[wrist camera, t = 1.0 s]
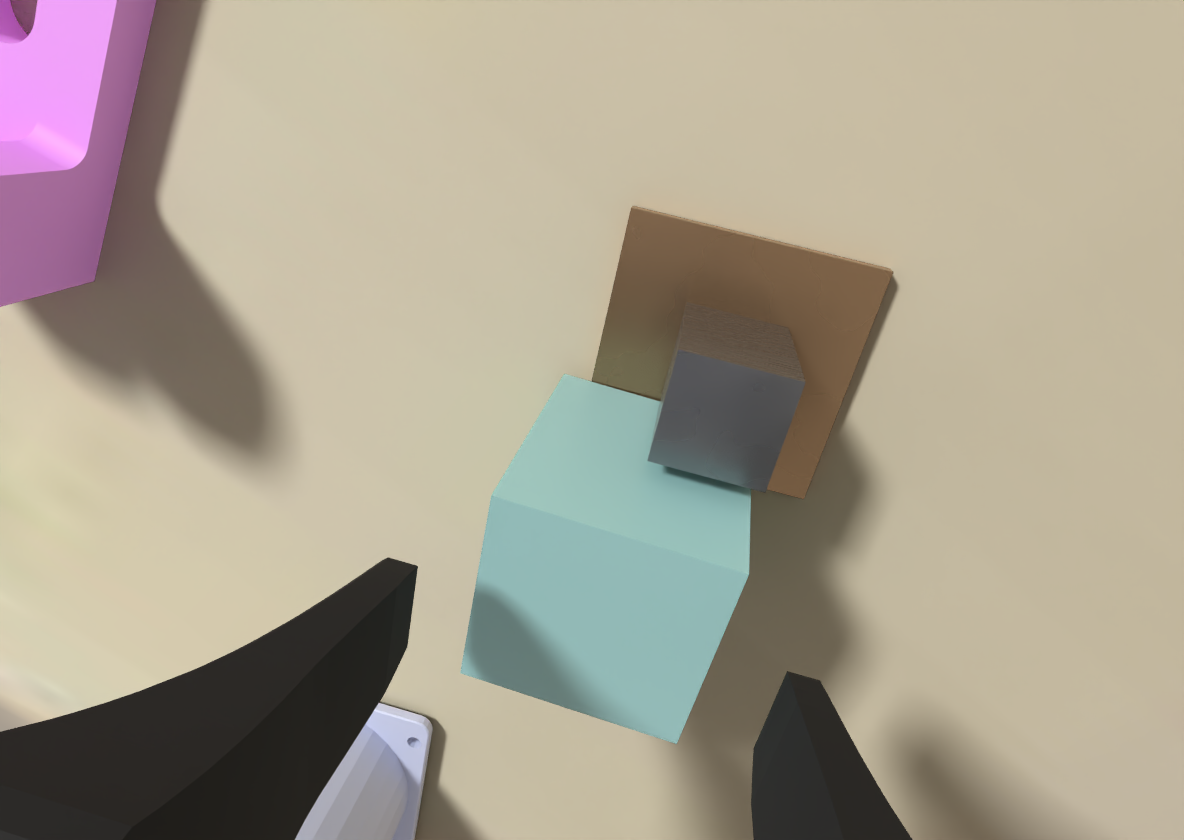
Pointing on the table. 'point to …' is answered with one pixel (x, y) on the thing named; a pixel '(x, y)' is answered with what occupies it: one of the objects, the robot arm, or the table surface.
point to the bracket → (63, 136)
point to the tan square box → (736, 346)
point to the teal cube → (606, 567)
